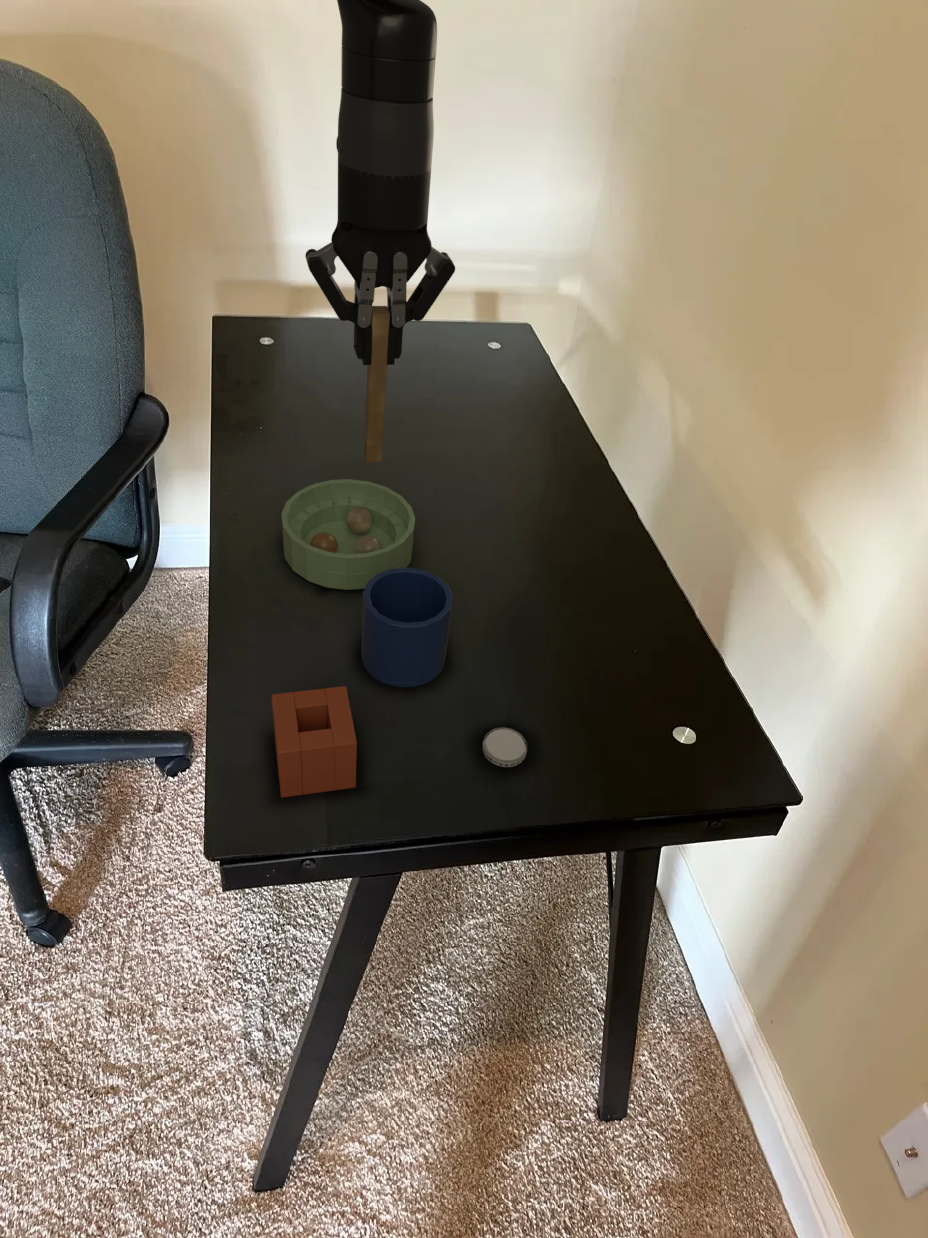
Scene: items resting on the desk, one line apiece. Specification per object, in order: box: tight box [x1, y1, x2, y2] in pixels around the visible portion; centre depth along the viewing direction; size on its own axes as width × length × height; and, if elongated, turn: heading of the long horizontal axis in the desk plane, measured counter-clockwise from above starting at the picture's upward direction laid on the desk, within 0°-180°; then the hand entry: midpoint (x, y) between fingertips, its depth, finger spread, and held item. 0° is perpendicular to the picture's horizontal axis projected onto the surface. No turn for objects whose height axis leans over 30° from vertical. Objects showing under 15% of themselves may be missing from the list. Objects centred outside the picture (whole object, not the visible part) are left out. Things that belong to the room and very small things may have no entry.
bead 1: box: [310, 532, 338, 553], centre depth 90 cm, size 3×3×3 cm
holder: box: [270, 685, 358, 799], centre depth 69 cm, size 6×6×6 cm
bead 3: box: [355, 535, 382, 554], centre depth 90 cm, size 3×3×3 cm
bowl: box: [280, 478, 416, 591], centre depth 91 cm, size 14×14×5 cm
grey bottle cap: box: [481, 727, 528, 768], centre depth 74 cm, size 4×4×1 cm
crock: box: [360, 567, 454, 688], centre depth 79 cm, size 8×8×8 cm
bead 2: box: [346, 507, 372, 534], centre depth 94 cm, size 3×3×3 cm
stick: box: [363, 305, 390, 463], centre depth 80 cm, size 2×2×16 cm
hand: (377, 360), depth 78 cm, fingers closed on stick, 1 cm apart
